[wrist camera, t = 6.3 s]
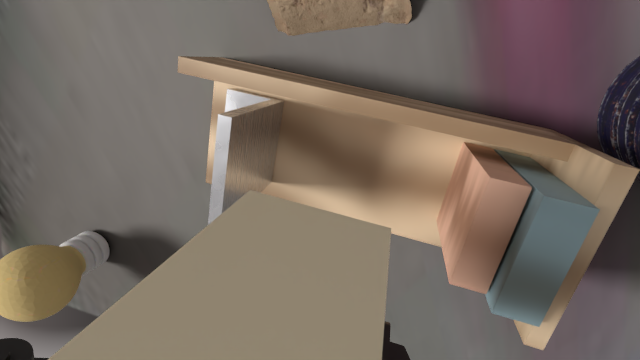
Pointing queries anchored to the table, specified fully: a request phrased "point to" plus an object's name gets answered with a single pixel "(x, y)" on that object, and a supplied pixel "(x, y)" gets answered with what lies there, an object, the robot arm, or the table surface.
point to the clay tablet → (336, 14)
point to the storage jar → (622, 117)
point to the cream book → (255, 292)
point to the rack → (441, 183)
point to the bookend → (244, 148)
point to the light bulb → (47, 275)
